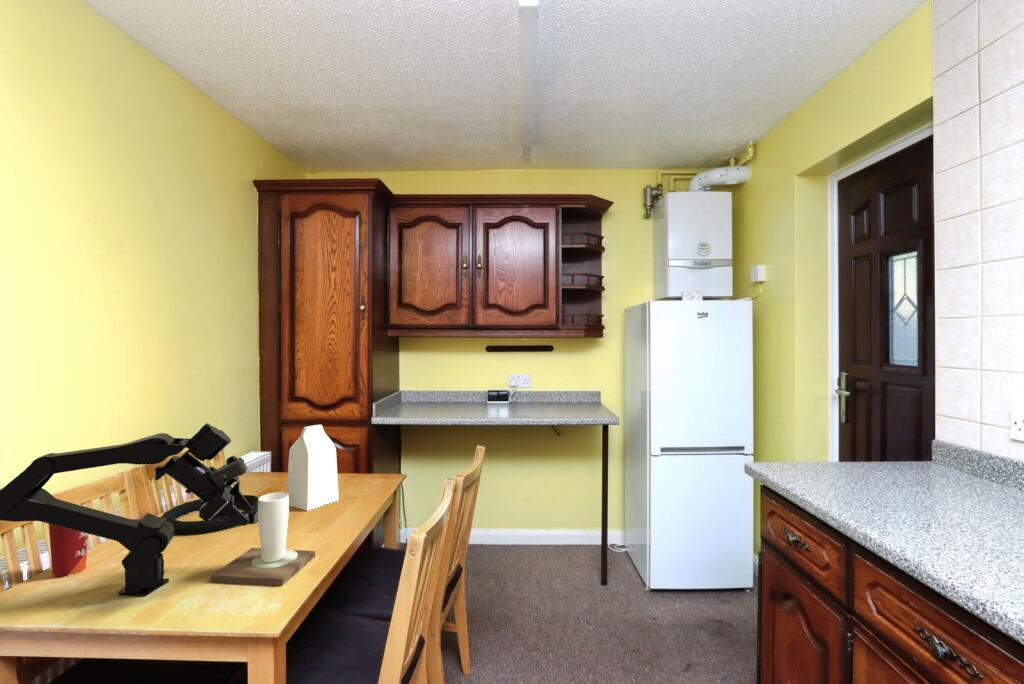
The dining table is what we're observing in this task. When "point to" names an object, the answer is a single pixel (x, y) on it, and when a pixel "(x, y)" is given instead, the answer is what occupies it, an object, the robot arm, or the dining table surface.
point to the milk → (312, 470)
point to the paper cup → (67, 550)
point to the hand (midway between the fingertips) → (249, 516)
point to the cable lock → (203, 526)
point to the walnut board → (262, 568)
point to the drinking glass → (273, 525)
